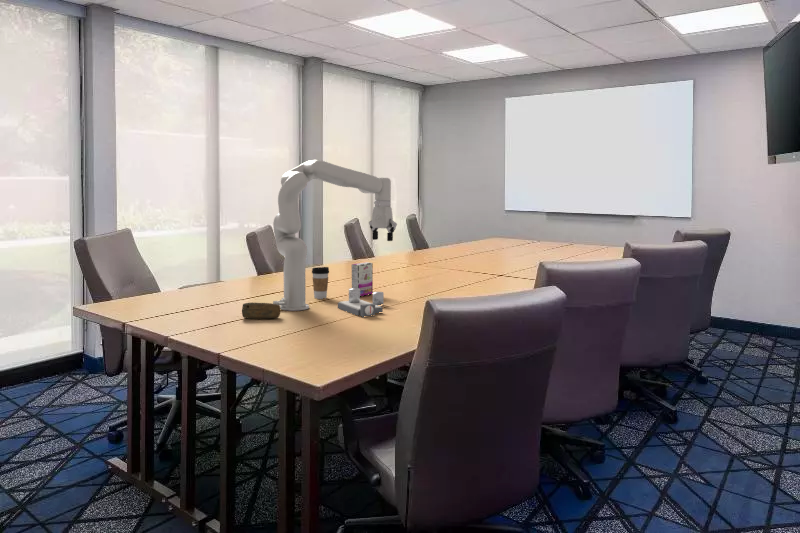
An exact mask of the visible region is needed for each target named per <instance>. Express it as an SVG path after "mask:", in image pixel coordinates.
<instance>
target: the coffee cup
mask: <svg viewBox="0 0 800 533" xmlns="http://www.w3.org/2000/svg"><path fill="white" fill-rule="evenodd" d="M329 273H330V270H329V266H321V267H320V266H319V267H312V269H311V274H312V285H313V286H312V287H313V298H314V299H316V298H317V299H318V300H320V299H321V300H324V299H323V298H325V299H327V298H326V297H327V296H328V295H327V294H328V284H329ZM317 299H316V300H317Z"/></svg>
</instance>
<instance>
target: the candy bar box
mask: <svg viewBox="0 0 800 533" xmlns="http://www.w3.org/2000/svg"><path fill="white" fill-rule="evenodd" d="M373 276H374V275H373V262H369V261H364V262H359V263H351V288H359V289H360V296H364V295H368V294H372V293H373V292H374V291H373V290H374V289H373V288H374V287H373V286H374V285H373V284H374V283H373V282H374V280H373V279H374V278H373ZM372 295H373V294H372ZM368 296H369V295H368ZM364 297H365V296H364Z"/></svg>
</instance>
